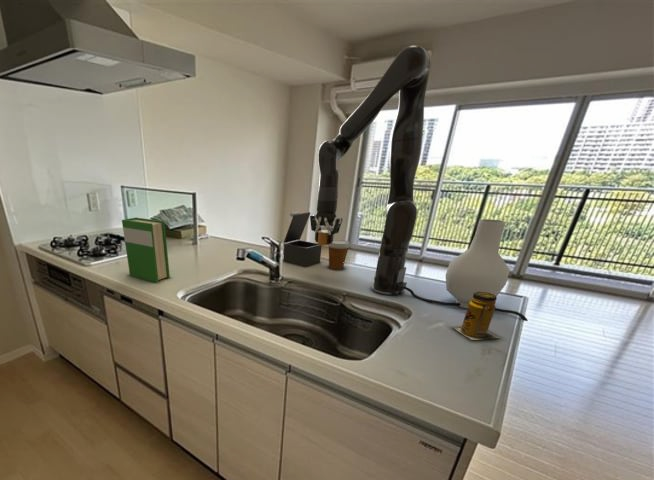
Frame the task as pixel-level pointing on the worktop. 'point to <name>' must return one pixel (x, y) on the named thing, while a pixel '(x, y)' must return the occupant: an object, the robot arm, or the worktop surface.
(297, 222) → the lid
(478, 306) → the condiment
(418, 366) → the worktop surface
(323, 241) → the coffee pod
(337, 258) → the disposable coffee cup
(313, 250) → the dark grey lidded box
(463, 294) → the vase
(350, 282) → the worktop surface
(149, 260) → the hardback book
